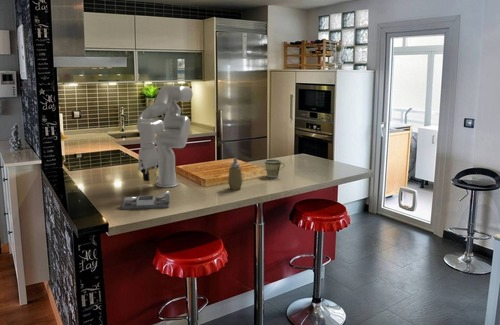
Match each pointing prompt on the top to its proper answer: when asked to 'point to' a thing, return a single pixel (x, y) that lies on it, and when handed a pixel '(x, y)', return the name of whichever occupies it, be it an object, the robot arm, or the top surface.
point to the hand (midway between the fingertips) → (150, 179)
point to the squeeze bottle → (235, 176)
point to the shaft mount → (147, 201)
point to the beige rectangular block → (151, 176)
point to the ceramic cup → (273, 167)
